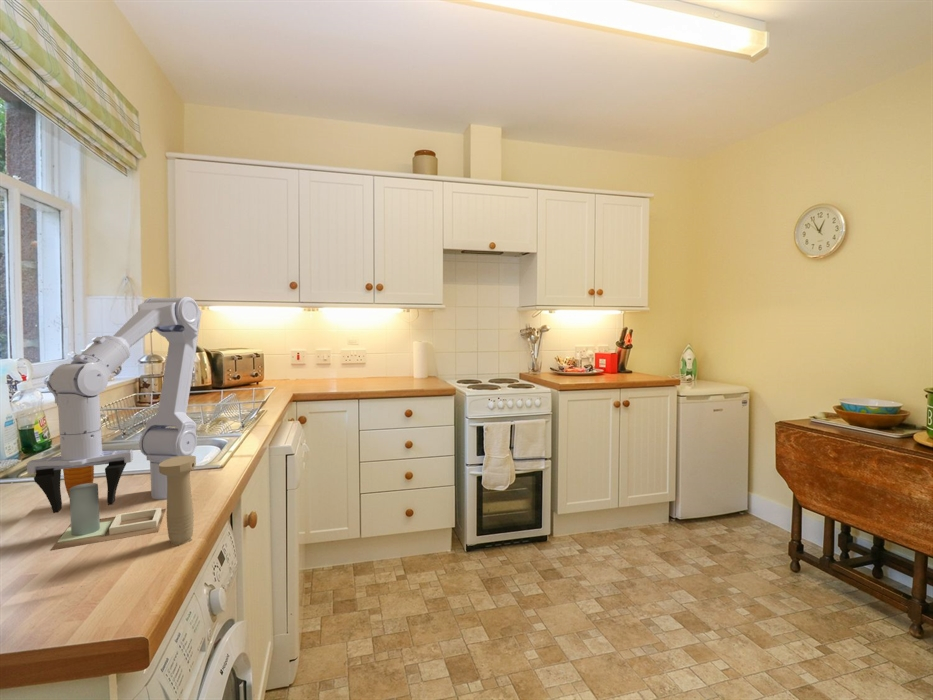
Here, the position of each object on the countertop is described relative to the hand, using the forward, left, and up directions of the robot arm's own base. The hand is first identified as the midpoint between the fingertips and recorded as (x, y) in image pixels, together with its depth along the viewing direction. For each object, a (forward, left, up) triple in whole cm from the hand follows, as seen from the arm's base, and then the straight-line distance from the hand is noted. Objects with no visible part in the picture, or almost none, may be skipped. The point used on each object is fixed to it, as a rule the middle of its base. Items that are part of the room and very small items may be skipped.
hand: (84, 506), depth 85 cm
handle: (+12, +15, -6) cm, 20 cm away
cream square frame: (0, +7, -5) cm, 9 cm away
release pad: (0, 0, -5) cm, 5 cm away
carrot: (-17, -5, -6) cm, 19 cm away
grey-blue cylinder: (0, 0, -4) cm, 4 cm away
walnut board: (0, +4, -6) cm, 7 cm away
